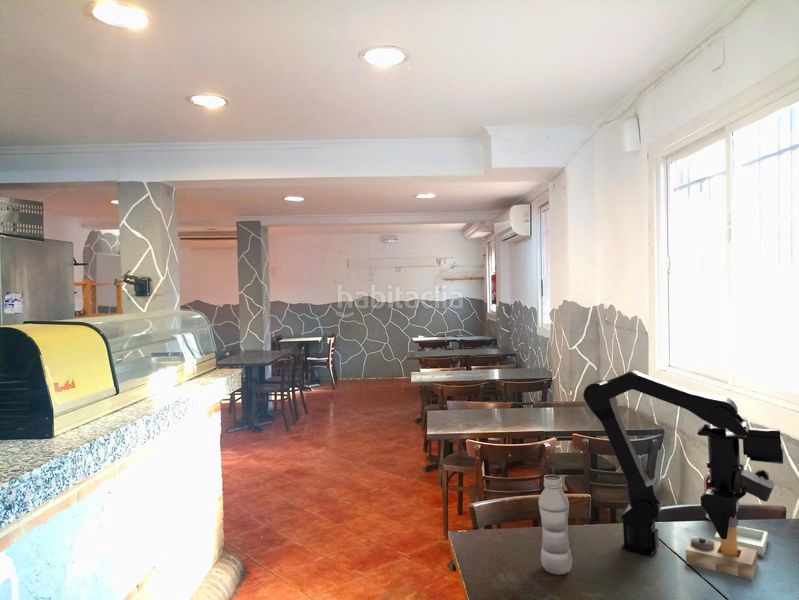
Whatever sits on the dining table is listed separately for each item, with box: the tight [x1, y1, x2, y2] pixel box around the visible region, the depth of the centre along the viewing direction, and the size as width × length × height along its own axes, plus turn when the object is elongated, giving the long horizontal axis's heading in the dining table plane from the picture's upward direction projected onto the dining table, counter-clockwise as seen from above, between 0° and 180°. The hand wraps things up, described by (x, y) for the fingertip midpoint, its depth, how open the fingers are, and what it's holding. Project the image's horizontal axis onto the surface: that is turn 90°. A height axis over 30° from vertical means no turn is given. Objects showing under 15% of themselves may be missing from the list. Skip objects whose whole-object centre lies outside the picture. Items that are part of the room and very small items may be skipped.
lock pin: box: [720, 517, 739, 557], centre depth 112 cm, size 4×4×10 cm
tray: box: [714, 525, 769, 557], centre depth 121 cm, size 9×9×2 cm
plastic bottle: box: [537, 474, 573, 576], centre depth 113 cm, size 6×7×20 cm
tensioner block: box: [685, 535, 759, 581], centre depth 113 cm, size 12×8×4 cm, turn 50°
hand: (727, 530), depth 112 cm, fingers open, 9 cm apart
